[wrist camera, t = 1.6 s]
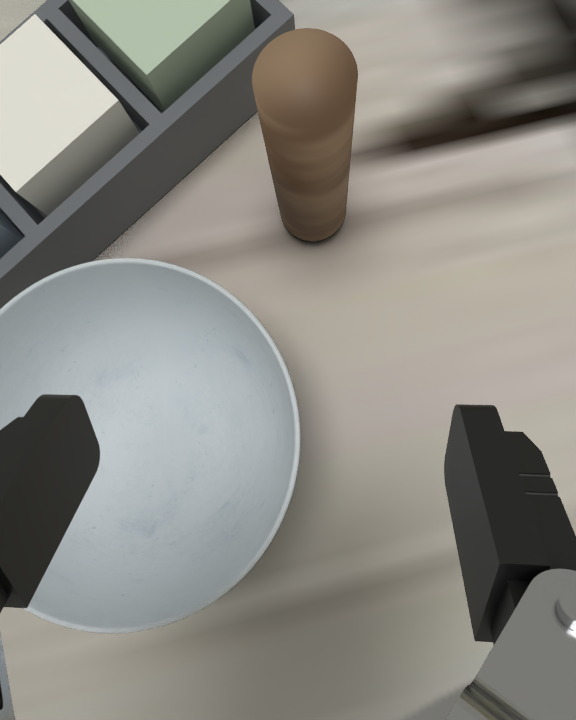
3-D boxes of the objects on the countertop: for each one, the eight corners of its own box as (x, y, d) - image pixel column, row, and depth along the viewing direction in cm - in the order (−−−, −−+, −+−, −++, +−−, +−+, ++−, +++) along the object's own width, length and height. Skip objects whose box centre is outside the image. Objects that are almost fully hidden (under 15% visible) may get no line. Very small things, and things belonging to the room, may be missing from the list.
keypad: (-129, 250, 31) (-204, 221, 27) (187, -32, 32) (165, -105, 28) (-30, 371, 30) (-92, 361, 26) (298, 74, 31) (293, 14, 26)
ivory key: (-19, 140, 29) (-65, 101, 26) (69, 62, 29) (34, 13, 26) (54, 220, 28) (15, 191, 25) (143, 140, 28) (118, 100, 25)
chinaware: (-4, 513, 29) (-123, 545, 21) (101, 265, 30) (25, 210, 23) (247, 622, 27) (216, 699, 20) (346, 353, 29) (354, 328, 21)
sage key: (93, 41, 29) (62, -11, 26) (179, -35, 29) (159, -97, 26) (168, 117, 28) (146, 75, 25) (256, 38, 29) (247, -15, 25)
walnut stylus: (268, 216, 30) (230, 77, 18) (314, 173, 30) (307, 8, 18) (311, 259, 29) (301, 147, 18) (358, 216, 29) (379, 75, 18)
